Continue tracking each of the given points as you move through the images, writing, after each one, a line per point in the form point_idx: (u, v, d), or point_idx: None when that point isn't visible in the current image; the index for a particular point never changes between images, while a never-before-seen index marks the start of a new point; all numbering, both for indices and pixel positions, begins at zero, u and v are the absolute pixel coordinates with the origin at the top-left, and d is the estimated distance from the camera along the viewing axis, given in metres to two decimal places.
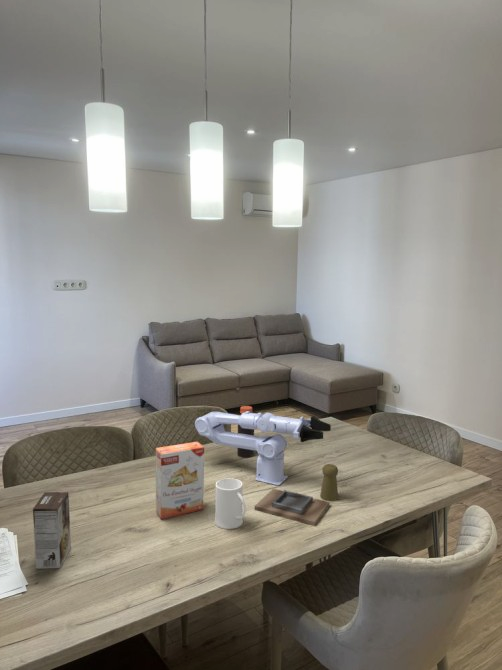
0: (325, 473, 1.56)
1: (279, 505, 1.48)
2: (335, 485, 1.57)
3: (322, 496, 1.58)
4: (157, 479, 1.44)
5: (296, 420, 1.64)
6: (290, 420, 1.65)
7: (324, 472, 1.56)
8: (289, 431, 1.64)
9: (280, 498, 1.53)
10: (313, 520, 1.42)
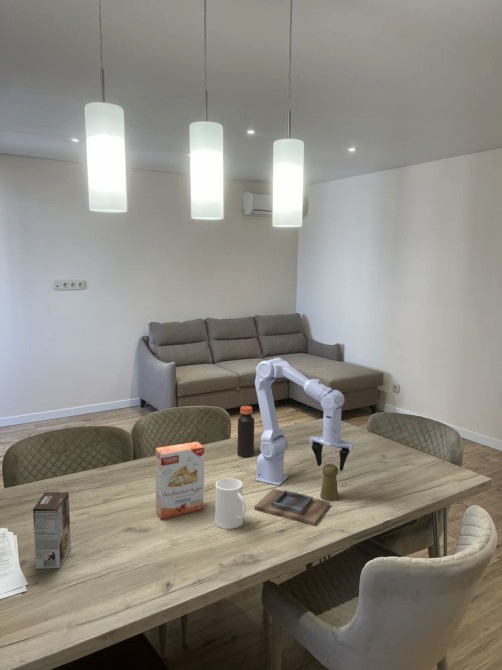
0: (325, 473, 1.56)
1: (279, 505, 1.48)
2: (335, 485, 1.57)
3: (322, 496, 1.58)
4: (157, 479, 1.44)
5: (326, 438, 1.55)
6: (325, 431, 1.55)
7: (324, 472, 1.56)
8: None
9: (280, 498, 1.53)
10: (313, 520, 1.42)
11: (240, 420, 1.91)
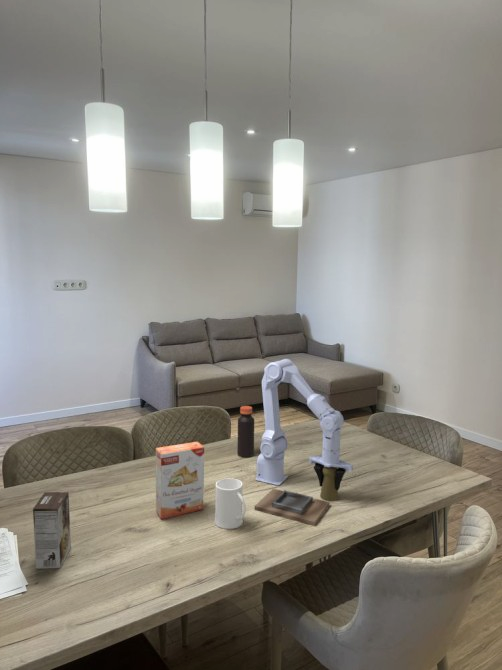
0: (325, 473, 1.56)
1: (279, 505, 1.48)
2: (335, 485, 1.57)
3: (322, 496, 1.58)
4: (157, 479, 1.44)
5: (325, 458, 1.55)
6: (325, 452, 1.55)
7: (324, 472, 1.56)
8: None
9: (280, 498, 1.53)
10: (313, 520, 1.42)
11: (240, 420, 1.91)
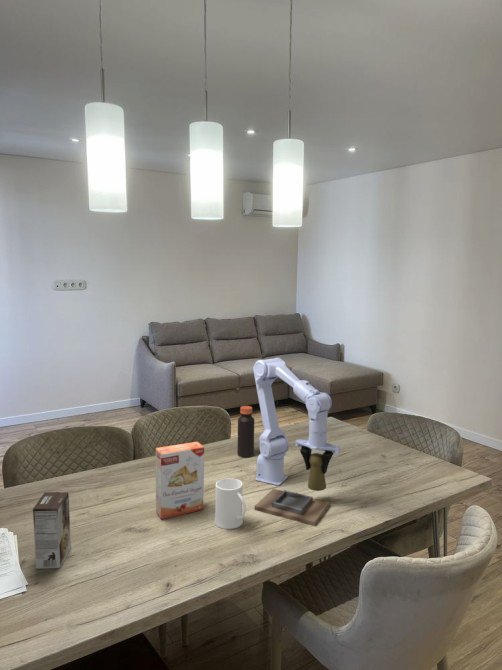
0: (311, 462, 1.53)
1: (279, 505, 1.48)
2: (322, 474, 1.53)
3: (309, 486, 1.55)
4: (157, 479, 1.44)
5: (312, 441, 1.52)
6: (311, 435, 1.52)
7: (310, 461, 1.53)
8: None
9: (280, 498, 1.53)
10: (313, 520, 1.42)
11: (240, 420, 1.91)
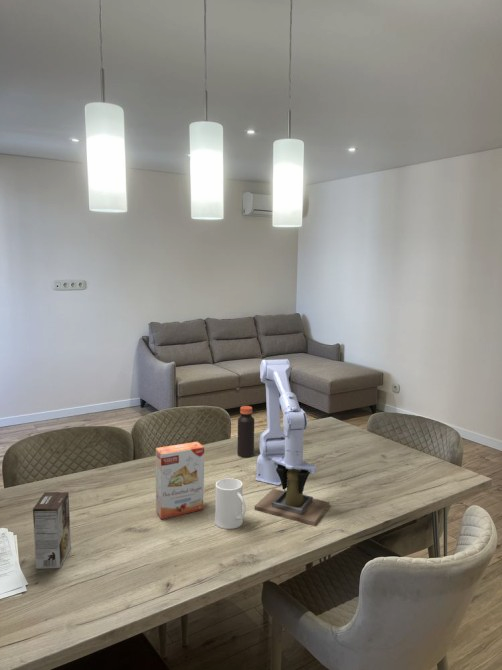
0: (288, 477, 1.50)
1: (279, 505, 1.48)
2: None
3: (286, 501, 1.51)
4: (157, 479, 1.44)
5: (287, 460, 1.47)
6: (287, 453, 1.47)
7: (287, 476, 1.50)
8: None
9: (280, 498, 1.53)
10: (313, 520, 1.42)
11: (240, 420, 1.91)
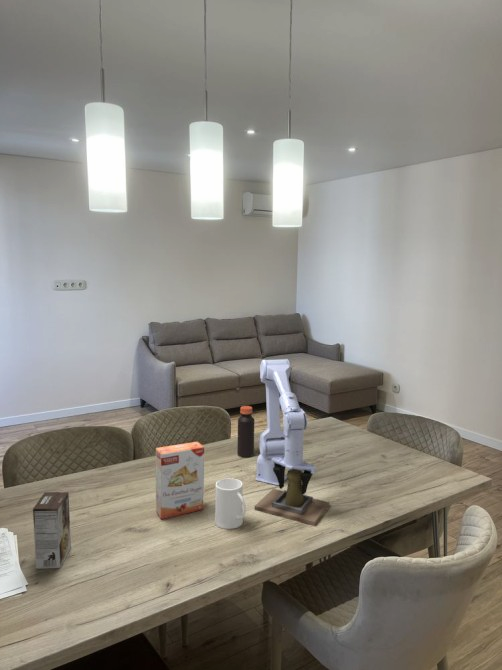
0: (289, 477, 1.49)
1: (279, 505, 1.48)
2: (299, 491, 1.50)
3: (286, 501, 1.51)
4: (157, 479, 1.44)
5: (287, 460, 1.47)
6: (287, 453, 1.47)
7: (288, 477, 1.50)
8: None
9: (280, 498, 1.53)
10: (313, 520, 1.42)
11: (240, 420, 1.91)
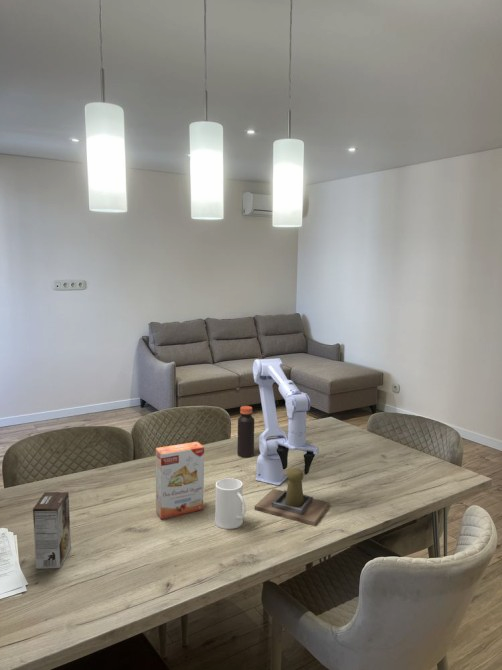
0: (289, 477, 1.49)
1: (279, 505, 1.48)
2: (299, 491, 1.50)
3: (286, 501, 1.51)
4: (157, 479, 1.44)
5: (290, 441, 1.51)
6: (290, 435, 1.51)
7: (288, 477, 1.50)
8: None
9: (280, 498, 1.53)
10: (313, 520, 1.42)
11: (240, 420, 1.91)
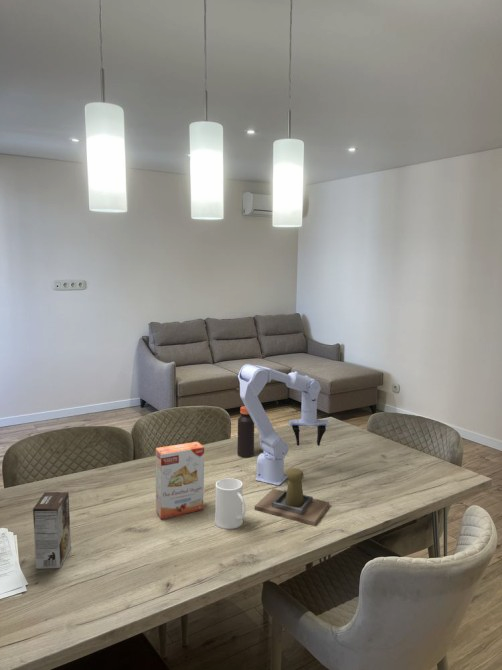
0: (289, 477, 1.49)
1: (279, 505, 1.48)
2: (299, 491, 1.50)
3: (286, 501, 1.51)
4: (157, 479, 1.44)
5: (307, 419, 1.74)
6: (306, 413, 1.74)
7: (288, 477, 1.50)
8: None
9: (280, 498, 1.53)
10: (313, 520, 1.42)
11: (240, 420, 1.91)
